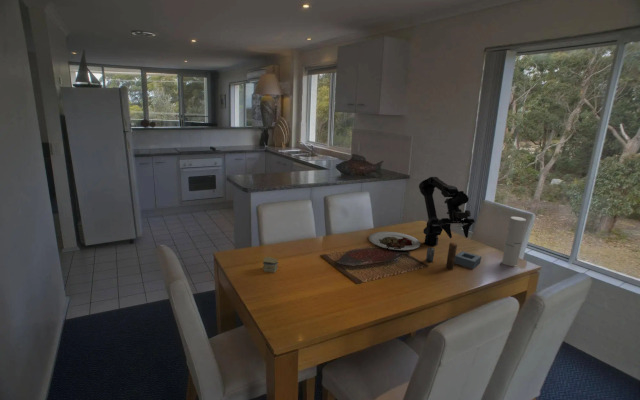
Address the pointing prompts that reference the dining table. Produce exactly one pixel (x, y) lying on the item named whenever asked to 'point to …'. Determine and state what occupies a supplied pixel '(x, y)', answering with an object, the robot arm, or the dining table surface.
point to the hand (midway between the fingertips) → (458, 237)
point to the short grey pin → (430, 254)
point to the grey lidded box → (270, 264)
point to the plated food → (394, 240)
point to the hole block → (467, 259)
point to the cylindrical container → (513, 241)
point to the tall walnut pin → (451, 255)
